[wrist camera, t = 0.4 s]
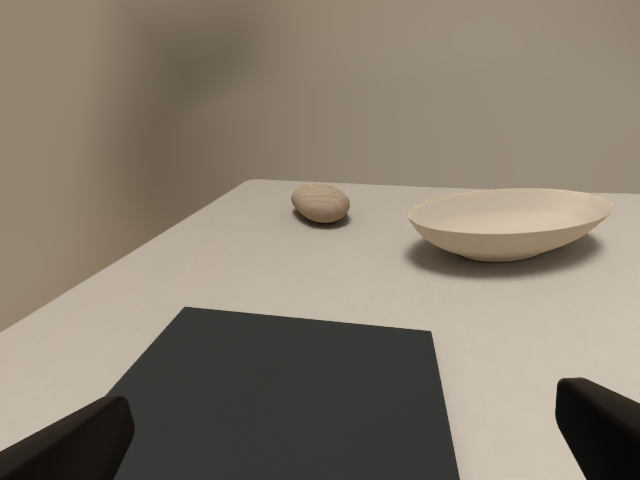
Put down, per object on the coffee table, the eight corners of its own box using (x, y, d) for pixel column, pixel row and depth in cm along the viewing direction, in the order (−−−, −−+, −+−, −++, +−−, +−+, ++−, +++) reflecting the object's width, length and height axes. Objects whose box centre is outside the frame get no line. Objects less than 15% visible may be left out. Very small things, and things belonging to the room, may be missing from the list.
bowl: (446, 299, 36) (455, 247, 34) (379, 243, 49) (382, 202, 46) (637, 255, 45) (655, 211, 42) (537, 217, 58) (547, 182, 55)
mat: (495, 684, 13) (498, 679, 13) (-27, 555, 17) (-33, 548, 16) (430, 336, 31) (431, 330, 31) (185, 311, 35) (184, 306, 34)
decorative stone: (359, 226, 55) (360, 196, 53) (306, 233, 52) (305, 202, 50) (331, 202, 66) (331, 177, 64) (286, 207, 63) (284, 181, 61)
